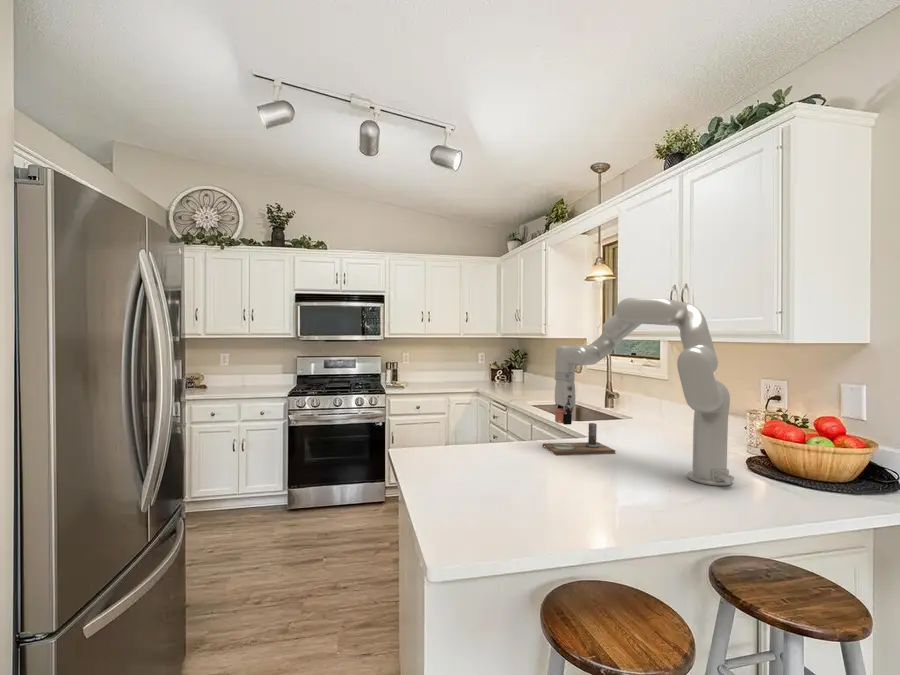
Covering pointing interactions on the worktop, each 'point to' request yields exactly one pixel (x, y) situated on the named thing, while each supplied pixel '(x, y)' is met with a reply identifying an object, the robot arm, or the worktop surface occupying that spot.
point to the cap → (559, 415)
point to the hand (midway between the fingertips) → (563, 422)
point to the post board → (581, 445)
